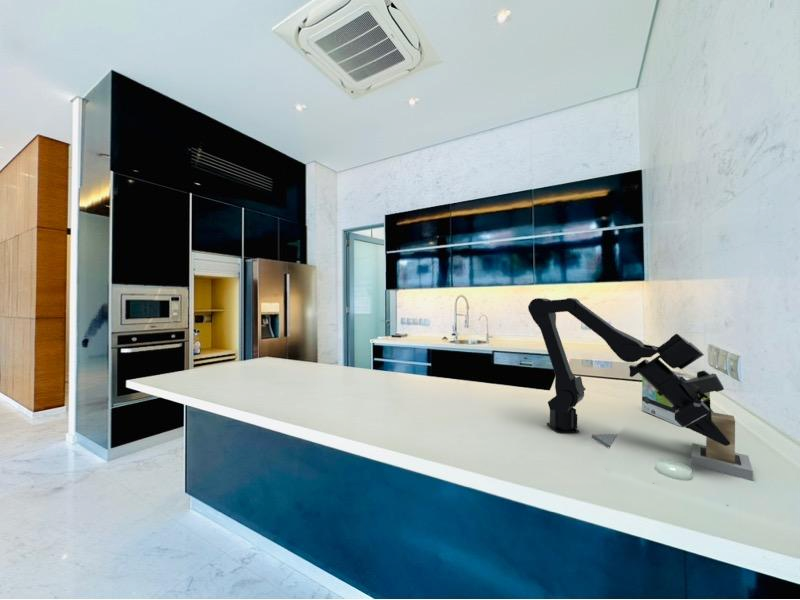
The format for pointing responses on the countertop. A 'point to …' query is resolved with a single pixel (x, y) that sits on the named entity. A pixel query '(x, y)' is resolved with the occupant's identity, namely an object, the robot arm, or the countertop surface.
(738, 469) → the stone holder
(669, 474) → the pale grey oval lump
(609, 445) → the slate board
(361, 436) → the countertop surface
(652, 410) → the tea box
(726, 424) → the wooden block
